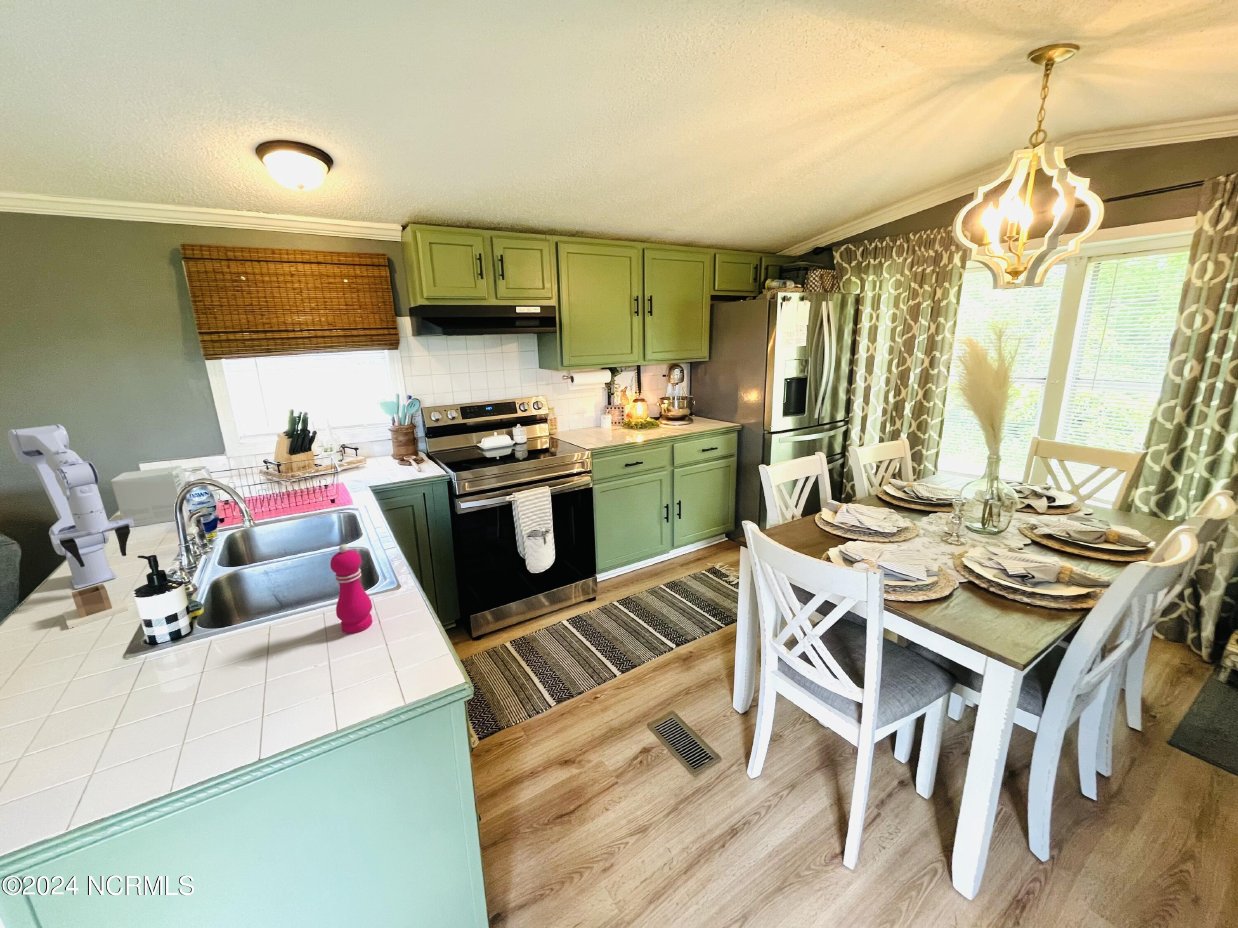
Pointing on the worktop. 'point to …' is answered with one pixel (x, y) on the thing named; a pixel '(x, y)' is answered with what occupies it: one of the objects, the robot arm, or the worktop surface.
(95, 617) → the base plate
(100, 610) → the walnut collar
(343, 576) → the pepper mill
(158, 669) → the worktop surface
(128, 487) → the supplement box
